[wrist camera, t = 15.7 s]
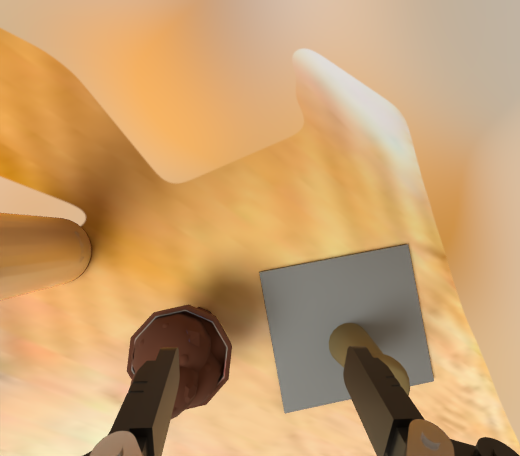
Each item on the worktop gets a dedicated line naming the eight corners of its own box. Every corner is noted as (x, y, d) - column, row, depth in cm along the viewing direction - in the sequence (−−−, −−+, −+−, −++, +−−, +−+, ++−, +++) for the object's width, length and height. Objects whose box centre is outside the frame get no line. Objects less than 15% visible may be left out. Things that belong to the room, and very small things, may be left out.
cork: (337, 316, 37) (375, 350, 26) (376, 332, 37) (429, 372, 26) (322, 356, 37) (353, 407, 26) (360, 371, 37) (408, 429, 26)
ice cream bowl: (243, 354, 37) (240, 436, 22) (165, 372, 37) (108, 469, 22) (228, 281, 37) (215, 313, 22) (150, 298, 37) (82, 343, 22)
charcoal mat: (284, 410, 37) (284, 413, 37) (259, 271, 38) (259, 272, 37) (431, 378, 38) (434, 381, 38) (405, 244, 39) (408, 244, 38)
